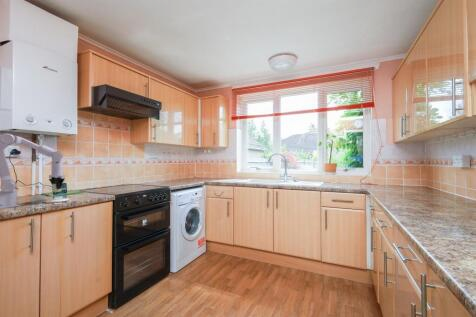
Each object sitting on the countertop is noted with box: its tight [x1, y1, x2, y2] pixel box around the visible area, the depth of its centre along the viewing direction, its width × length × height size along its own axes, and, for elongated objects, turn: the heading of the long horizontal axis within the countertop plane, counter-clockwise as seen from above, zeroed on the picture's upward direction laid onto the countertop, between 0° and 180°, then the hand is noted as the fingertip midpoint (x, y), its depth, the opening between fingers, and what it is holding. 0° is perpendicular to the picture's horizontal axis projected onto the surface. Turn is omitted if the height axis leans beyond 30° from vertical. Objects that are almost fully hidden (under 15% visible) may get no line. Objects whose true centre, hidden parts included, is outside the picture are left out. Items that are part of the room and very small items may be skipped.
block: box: [51, 184, 62, 193], centre depth 151 cm, size 4×4×5 cm
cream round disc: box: [44, 197, 70, 204], centre depth 151 cm, size 13×13×1 cm
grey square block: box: [30, 194, 46, 204], centre depth 150 cm, size 6×6×4 cm
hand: (56, 188), depth 151 cm, fingers closed on block, 4 cm apart
